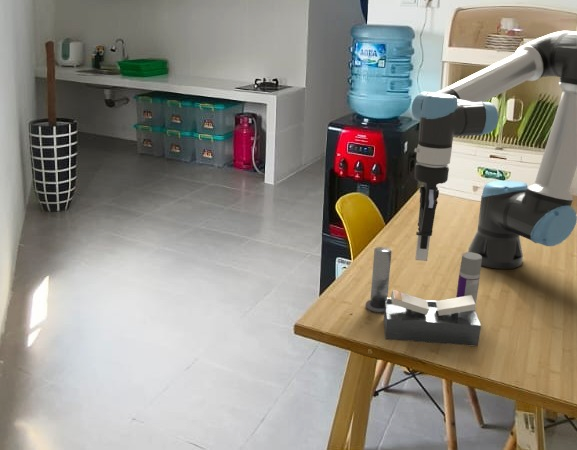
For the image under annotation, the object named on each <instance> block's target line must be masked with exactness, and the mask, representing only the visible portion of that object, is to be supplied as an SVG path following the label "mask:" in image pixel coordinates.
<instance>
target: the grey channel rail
mask: <svg viewBox="0 0 577 450" xmlns="http://www.w3.org/2000/svg"><path fill="white" fill-rule="evenodd" d="M436 301H437V300H431V299H430V300H429V299H428V300H427V303H428V307H429V311H428V313H427V315H425V314H422V313H419V312H416V311H413V310H409V309H406V308H403V307H400V306H396V305H393V304H392V300H391V297H387V301H385V308H384V313H383V329H384V338H385V340H389V341H392V340H393V341H402V342H414V343H415V342H417V343H430V344H431V343H432V344H446V345H459V346H460V345H462V346H472V347H473V346H474V347H478V346H479V342H480V337H481V336H480V334H481V330H482V329H481V328H482V324H481V321H480V319H479V317H478V314H477V312H476V310H471V311H465V312H459V313H453V314H447V315H441V316H439V314H438V310H437V307H436Z"/></svg>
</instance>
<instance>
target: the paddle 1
mask: <svg viewBox="0 0 577 450" xmlns="http://www.w3.org/2000/svg"><path fill="white" fill-rule="evenodd" d="M390 298H391V300H392V304H393V305H396V306H400V307H403V308H406V309H409V310H413V311H416V312H419V313H422V314H425V315H427V313H428V311H429V307H428V303H427V300H426V299H423V298H420V297H417V296H414V295H410V294H407V293H404V292H401V291H399V290H396V289H393V290H392V291H391V294H390Z"/></svg>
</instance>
